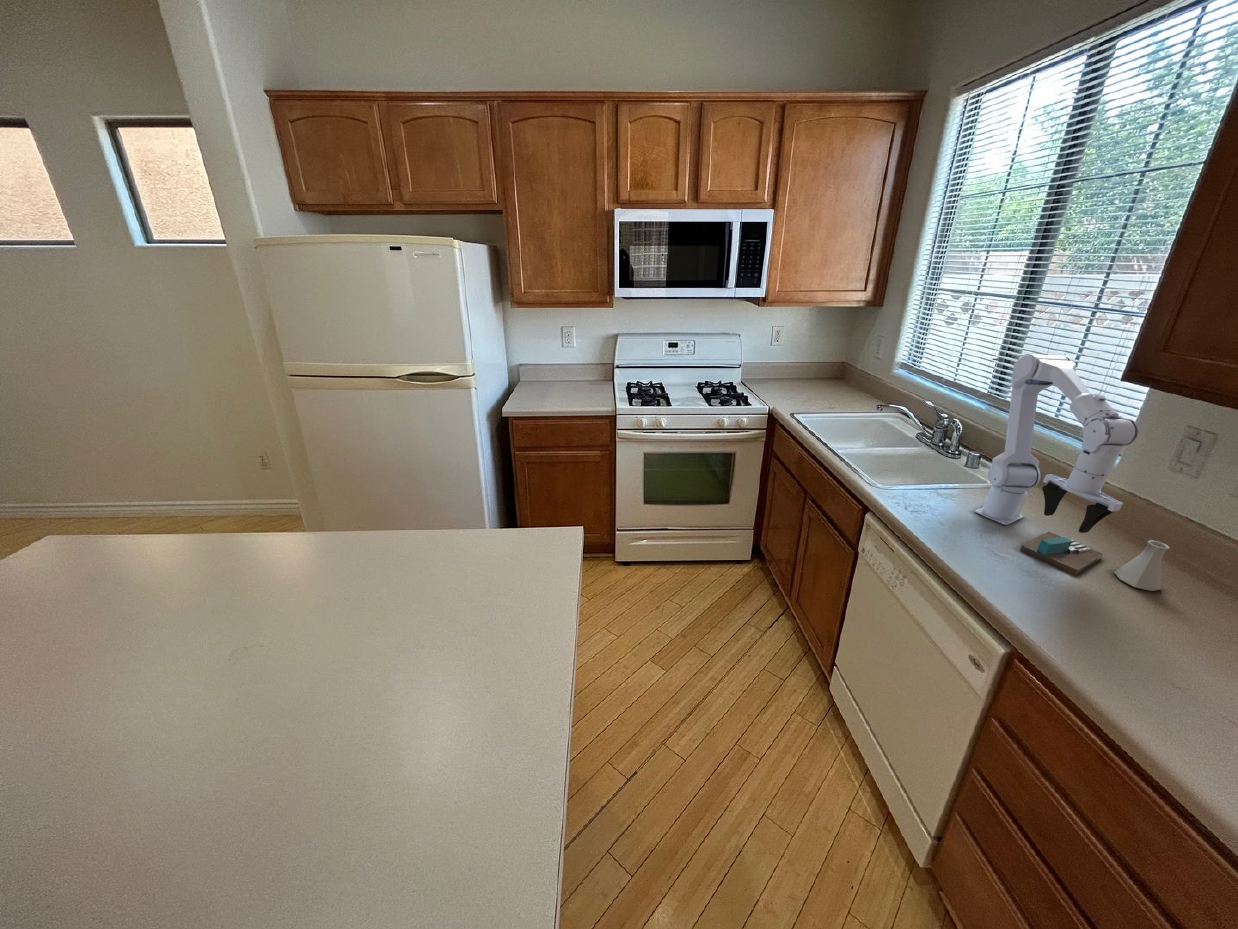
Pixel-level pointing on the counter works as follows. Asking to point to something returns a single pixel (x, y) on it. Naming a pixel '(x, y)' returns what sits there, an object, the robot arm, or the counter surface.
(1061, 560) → the cutting board
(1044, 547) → the fork
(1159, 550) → the flask
